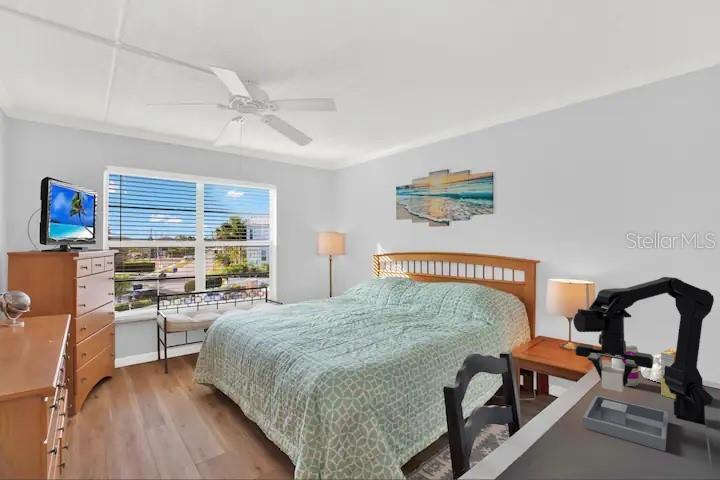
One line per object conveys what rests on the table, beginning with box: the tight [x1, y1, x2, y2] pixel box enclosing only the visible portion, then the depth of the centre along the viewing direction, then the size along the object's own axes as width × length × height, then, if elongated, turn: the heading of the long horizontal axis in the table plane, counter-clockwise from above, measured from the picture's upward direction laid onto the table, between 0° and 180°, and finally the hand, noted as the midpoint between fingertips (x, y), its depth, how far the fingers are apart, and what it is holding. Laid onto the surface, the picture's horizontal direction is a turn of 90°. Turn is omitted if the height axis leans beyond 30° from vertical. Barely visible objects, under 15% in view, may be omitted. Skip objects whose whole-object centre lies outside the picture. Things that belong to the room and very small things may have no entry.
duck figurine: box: [640, 353, 661, 384], centre depth 138 cm, size 12×8×11 cm
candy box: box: [660, 347, 676, 400], centre depth 125 cm, size 9×4×15 cm, turn 119°
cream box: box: [601, 365, 626, 393], centre depth 108 cm, size 5×6×5 cm
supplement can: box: [611, 341, 640, 387], centre depth 136 cm, size 8×8×15 cm
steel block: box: [601, 400, 628, 426], centre depth 107 cm, size 6×6×4 cm
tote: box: [582, 395, 669, 452], centre depth 104 cm, size 18×20×4 cm
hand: (613, 383), depth 108 cm, fingers closed on cream box, 5 cm apart
